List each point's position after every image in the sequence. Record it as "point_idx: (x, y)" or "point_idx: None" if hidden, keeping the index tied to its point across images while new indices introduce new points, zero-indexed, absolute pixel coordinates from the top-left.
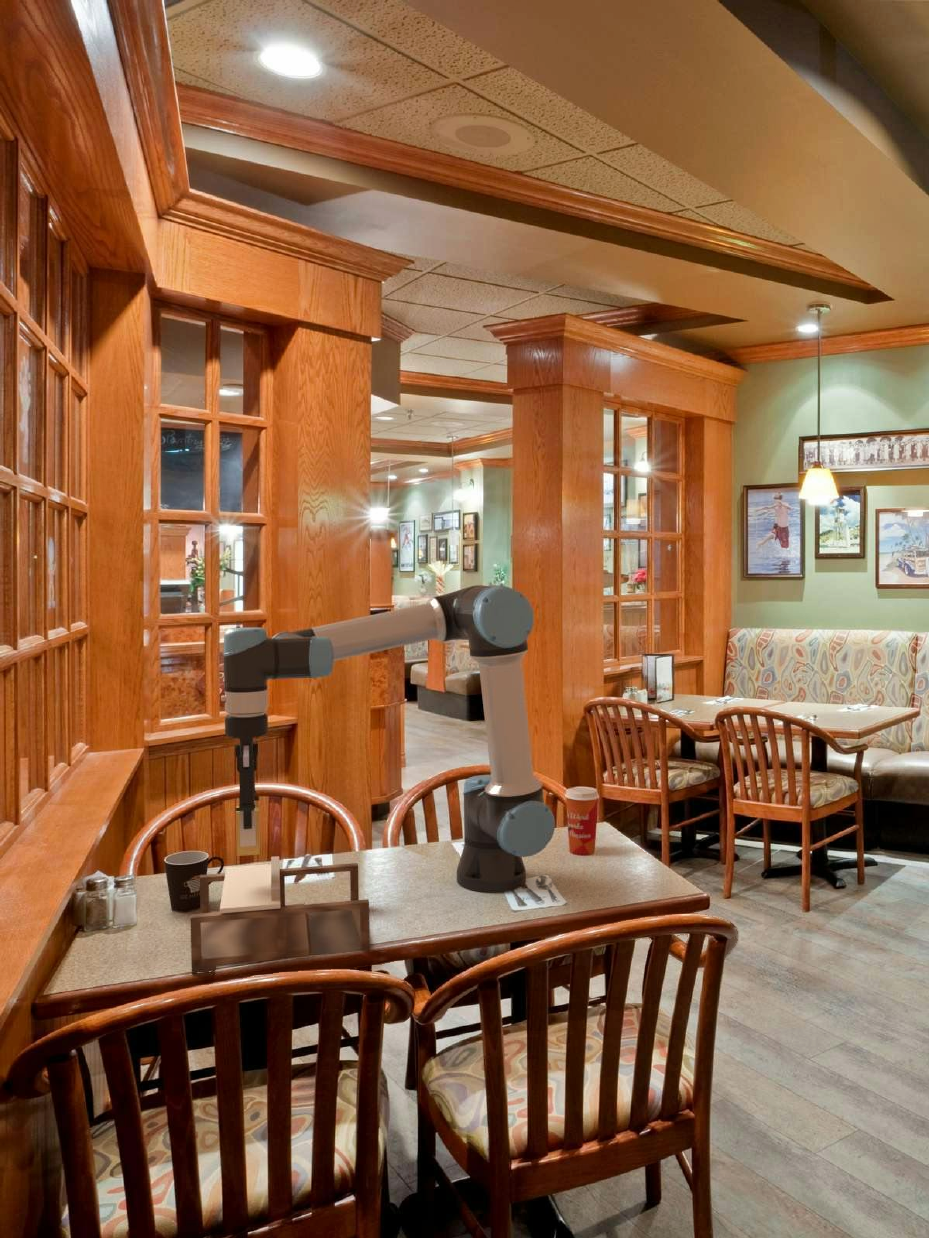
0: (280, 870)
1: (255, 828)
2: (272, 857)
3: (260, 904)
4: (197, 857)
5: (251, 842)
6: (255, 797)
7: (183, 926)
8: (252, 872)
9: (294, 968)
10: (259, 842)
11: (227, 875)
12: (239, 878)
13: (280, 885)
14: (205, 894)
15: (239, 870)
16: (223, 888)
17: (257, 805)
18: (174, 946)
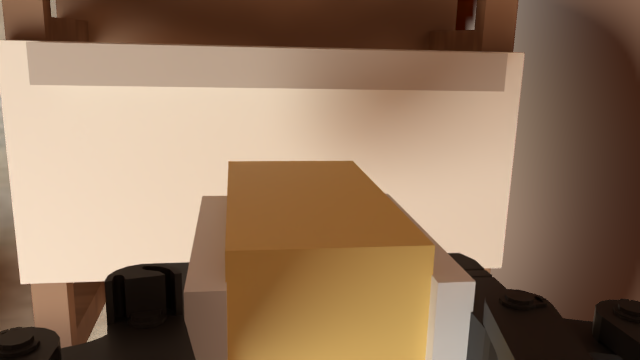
0: (30, 35)
1: (419, 226)
2: (45, 78)
3: (508, 128)
4: None
5: None
6: (159, 315)
7: (93, 332)
8: (116, 167)
9: (468, 12)
10: (337, 174)
11: None
12: (187, 219)
13: (64, 36)
14: (88, 316)
15: (76, 224)
16: None
17: (248, 265)
18: None
